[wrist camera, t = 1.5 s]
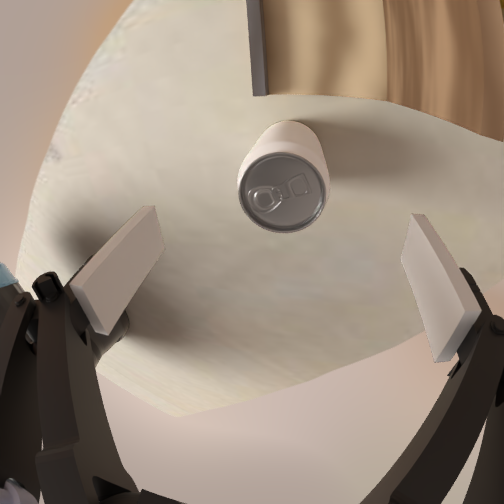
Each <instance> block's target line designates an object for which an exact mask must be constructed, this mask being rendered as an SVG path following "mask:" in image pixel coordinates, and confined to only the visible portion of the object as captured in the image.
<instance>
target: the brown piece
mask: <svg viewBox="0 0 504 504" xmlns="http://www.w3.org/2000/svg"><path fill="white" fill-rule="evenodd" d="M246 3H247V16H248V30H249V44H250V58H251V73H252V88H253V96H267V95H273V94H305V95H330V96H345V97H357V98H366V99H375V100H383V101H389V102H392V103H396V104H399V105H402V106H406V107H409V108H412V109H415V110H418V111H421V112H424V113H427V114H430V115H433V116H435V117H438V118H441V119H443V120H446V121H449V122H451V123H454V124H456V125H459V126H461V127H463V128H466V129H468V130H470V131H472V132H475V133H477V134H479V135H482V136H485V137H489V138H492V139H495V140H498V141H501V142H503V140H504V24H503V17H502V11H501V5H500V0H246Z"/></svg>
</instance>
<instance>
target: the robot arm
mask: <svg viewBox="0 0 504 504" xmlns="http://www.w3.org/2000/svg"><path fill="white" fill-rule="evenodd" d="M164 250H165V246H164V242H163V238H162V234H161V230H160V226H159V222H158V217H157V213H156V209H155V206H143V207H142V208H141V209H140V210H139V211H138V212H136V213H135V214H134V215H133V216H132V217H131V218H130V219H129V220H128V221H127V222H126V223H125V224H124V225H123V226H122V227H121V228H120V229H119V230H118V231H117V232H116V233H115V234H114V235H113V236H112V237H111V238H110V239H109V240H108V241H107V243H106V244H105V245H104V246H103V247H102V248H101V249H100V250H99V251H98V252H97V253H95V254H94V255H92V256H91V257H90V258H89V259H88V260H87V261H86V262H85V263H84V265H82V267H81V268H80V269H79V271H77V272H76V273H75V274H74V276H73V277H72V278H71V279H70V280H69V281H68V282H67V284H66V285H65V286H64V287H63V286H62V284H61V282H60V280H59V278H58V276H57V274H56V273H55V272H47V273H44V274H42V275H40V276H39V277H38V278H37V279H36V280H35V281H34V282H33V285H32V288H33V290H34V292H35V293H36V295H37V297H38V299H39V300H34V299H33V297H32V295H31V294H30V293H29V292H25V291H24V290H23V288H22V287H21V286H20V284H19V283H18V282H19V281H18V279H15V277H14V276H13V275H12V273H11V272H10V271H9V270H8V268H7V267H6V266H5V265H4V264H3V263H1V262H0V504H39V499H40V491H41V492H42V495H43V499H44V503H45V504H185V503H182V502H179V501H176V500H173V499H169V498H166V497H163V496H160V495H157V494H155V493H152V492H149V491H146V490H144V489H142V490H141V492H139V491H138V489H137V487H136V485H135V483H134V481H133V479H132V478H131V476H130V475H129V474H128V473H127V472H126V470H125V469H124V467H123V465H122V463H121V460H120V457H119V454H118V452H117V449H116V446H115V443H114V440H113V437H112V434H111V430H110V427H109V423H108V420H107V416H106V413H105V409H104V405H103V401H102V397H101V393H100V389H99V384H98V380H97V376H96V370H95V368H96V366H97V364H98V362H99V360H100V358H101V357H102V355H103V354H104V353H105V352H107V351H108V350H109V349H110V348H111V347H112V346H113V345H114V344H115V343H116V342H119V341H120V340H121V339H122V338H123V337H124V335H125V333H126V332H127V330H128V327H129V320H128V317H127V314H126V312H125V308H126V306H127V305H128V303H129V302H130V300H131V299H132V297H133V296H134V294H135V293H136V291H137V290H138V288H139V287H140V285H141V284H142V282H143V281H144V279H145V278H146V276H147V275H148V273H149V272H150V270H151V269H152V267H153V266H154V264H155V263H156V262H157V260H158V259H159V257H160V256H161V254H162V253H163V252H164ZM400 260H401V263H402V265H403V268H404V270H405V273H406V275H407V278H408V281H409V283H410V286H411V289H412V291H413V294H414V297H415V300H416V303H417V306H418V309H419V312H420V315H421V318H422V321H423V324H424V327H425V331H426V334H427V337H428V341H429V344H430V348H431V352H432V355H433V359H434V362H435V363H436V362H445V361H450V360H451V359H452V358H453V356H454V355H455V353H456V352H457V353H458V356H459V361H458V362H457V363H456V364H455V366H454V367H453V369H452V370H451V371H450V372H449V374H448V375H447V376H450V377H449V379H448V381H447V383H446V385H445V387H444V389H443V391H442V392H441V394H440V396H439V398H438V399H437V401H436V403H435V405H434V406H433V408H432V410H431V411H430V413H429V415H428V416H427V418H426V420H425V421H424V423H423V424H422V426H421V428H420V429H419V430H418V432H417V434H416V435H415V436H414V438H413V439H412V441H411V442H410V444H409V445H408V446H407V448H406V449H405V451H404V452H403V453H402V455H401V456H400V457H399V459H398V460H397V461H396V462H395V464H394V465H393V466H392V468H391V469H390V470H389V471H388V472H387V474H386V475H385V476H384V477H383V478H382V480H381V481H380V482H379V483H378V484H377V485H376V487H375V488H374V489H373V490H372V491H371V492H370V493H369V494H368V495H367V496H366V498H365V499H364V500H363V501H362V502H361V503H360V504H441V502H442V501H443V499H444V498H445V496H446V495H447V493H448V492H449V490H450V489H451V487H452V486H453V484H454V482H455V481H456V479H457V477H458V475H459V474H460V472H461V470H462V468H463V467H464V465H465V463H466V461H467V459H468V457H469V455H470V453H471V451H472V449H473V447H474V445H475V443H476V441H477V439H478V437H479V434H480V432H481V430H482V428H483V425H484V423H485V420H486V418H487V420H486V425H485V430H484V435H483V440H482V444H481V448H480V452H479V456H478V459H477V463H476V466H475V470H474V473H473V476H472V480H471V482H470V485H469V488H468V491H467V494H466V497H465V499H464V501H463V504H504V319H503V318H501V317H500V316H497V315H493V314H492V312H491V310H490V308H489V306H488V304H487V302H486V300H485V298H484V296H483V295H482V293H481V292H480V289H479V287H478V286H477V285H476V282H475V280H474V279H473V277H472V275H471V274H470V273H469V272H468V271H467V270H465V269H464V268H459V267H458V265H457V264H456V262H455V260H454V259H453V257H452V255H451V254H450V252H449V251H448V249H447V247H446V246H445V244H444V243H443V241H442V240H441V238H440V237H439V235H438V234H437V232H436V231H435V229H434V228H433V226H432V225H431V223H430V222H429V220H428V219H427V218H426V216H425V215H422V214H411V217H410V222H409V227H408V231H407V235H406V239H405V244H404V248H403V251H402V255H401V259H400ZM42 439H43V450H42V449H41V448H42ZM41 450H42V451H41Z"/></svg>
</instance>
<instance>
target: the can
mask: <svg viewBox="0 0 504 504" xmlns="http://www.w3.org/2000/svg"><path fill="white" fill-rule="evenodd" d="M237 186H238V194H239V200H240V204H241V206H242V208H243V210H244V212H245V213H246V215H247V216H248V217H249V218H250V219H251V220H252V221H253V222H254V223H255V224H257V225H258V226H260V227H261V228H263V229H266V230H268V231H272V232H276V233H292V232H296V231H299V230H302V229H304V228H306V227H308V226H309V225H311V224H312V223H313V222H314V221H315V220H316V219H317V218H318V217H319V215H320V214H321V212H322V210H323V208H324V206H325V204H326V202H327V200H328V197H329V193H330V177H329V172H328V168H327V164H326V161H325V157H324V154H323V151H322V148H321V145H320V142H319V140H318V138H317V136H316V135H315V133H314V132H313V131H312V130H311V129H310V128H309V127H307V126H306V125H304V124H302V123H299V122H296V121H281V122H278V123H275V124H273V125H271V126H270V127H268V128H267V129H266V130H265V131H264V132H263V133H262V135H261V136H260V137H259V139H258V140H257V142H256V143H255V144H254V146H253V147H252V149H251V150H250V151H249V153H248V154H247V156H246V157H245V159H244V161H243V163H242V165H241V167H240V170H239V173H238V179H237Z"/></svg>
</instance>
